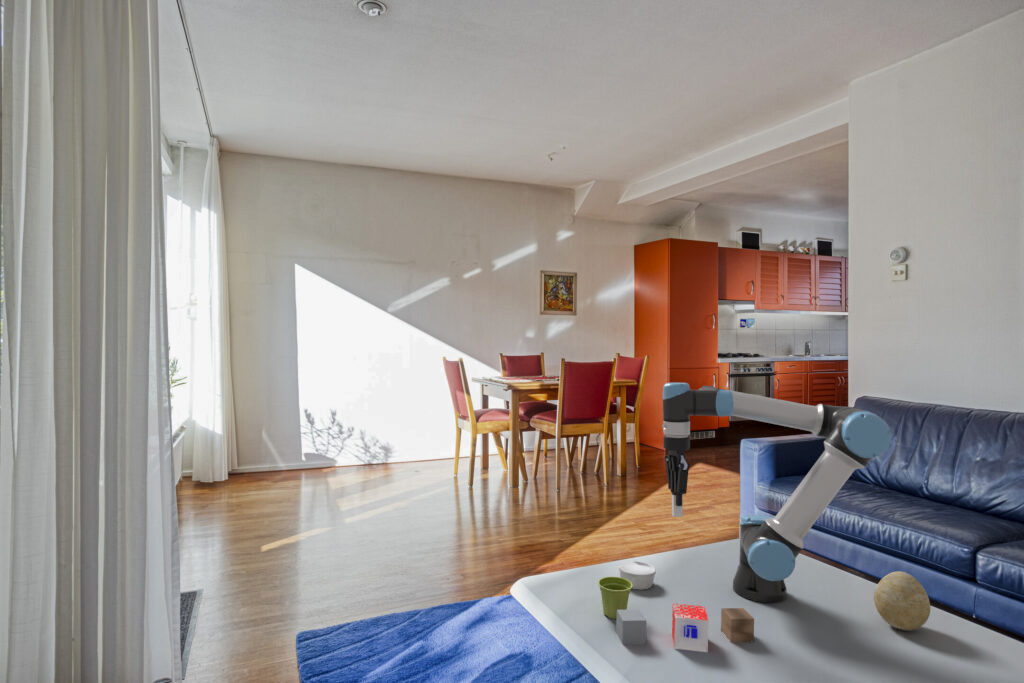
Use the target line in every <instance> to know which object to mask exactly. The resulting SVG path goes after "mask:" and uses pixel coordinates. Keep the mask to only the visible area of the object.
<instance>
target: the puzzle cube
mask: <svg viewBox="0 0 1024 683" xmlns="http://www.w3.org/2000/svg"><path fill="white" fill-rule="evenodd" d="M671 615H672V616H671V617H672V619H671V620H672V622H671V626H672V627H671V635H672V641H673V642H672V643H673V647H674V650H675V649H676V650H684V651H685V650H686V651H693V652H701V653H702V652H703V653H708V652H709V623H710V622H709V617H708V614H707V611H706V608H705V606H701V605H694V604H693V605H692V604H684V603H683V604H682V603H672V614H671Z"/></svg>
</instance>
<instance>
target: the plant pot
mask: <svg viewBox="0 0 1024 683" xmlns="http://www.w3.org/2000/svg"><path fill="white" fill-rule="evenodd" d="M597 584H598V586H599V590H600V594H601V602H602V603H601V604H602V611H603V615H604V616H607V618H609V619H613V620H617V610H628V603H629V598H630V594H631V591H632V590H633V589H632V587H633V584H632V583H631V582H630V581H629V580H627V579H624V578H621V577H620V576H604V577H601V578H599V580H598V581H597Z"/></svg>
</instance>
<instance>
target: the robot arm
mask: <svg viewBox="0 0 1024 683" xmlns="http://www.w3.org/2000/svg"><path fill="white" fill-rule="evenodd" d="M662 387H663V388H662V416H663V417H662V418H663V420H662V422H663V424H662V425H661V428H663V429H662V430H663V433H662V434H664V436H663V437H662V438H663V443H662V444H663V448H664V449H665V450H667V455H664V461H665V467H666V468H665V469H666V479H667V487H668V488H667V489H668V490H670V493H671V517H673V518H680V517H681V518H682V517H683V516H684V513H683V512H684V511H683V510H684V504H683V503H684V502H683V500H684V498H683V496H684V495H687V490H688V482H689V481H688V478H689V471H690V467H691V463H690V462H687V457H686V451H689V450H690V448H691V438H690V434H691V420H690V416H693V417H695V416H701V417H702V416H703V417H705V416H706V417H719V418H721V417H730V416H733V417H738V418H741V419H742V418H743V419H748V420H753V421H758V422H762V423H768V424H773V425H778V426H783V427H788V428H793V429H796V430H797V429H799V430H801V431H803V430H804V431H807V432H811V433H812V434H813V436H815V437H821V438H824V441H823V446H824V450H823V452H822V453H821V455H820V456H819V457H818V459H817V460H816V462H814V464H813V466H812V467H811V468H810V470H809V471H808V472H807V474H806V475H805V477H803V479H802V480H801V482H800V483H799V484H798V485H797V487H796V488H795V490H794V491H793V492H792V494H791V495H790V496H789V498H788V499H787V500H786V502H785V503H784V504H783V505H782V507H781V508H780V510H779V511H778V513H777V514H776V515H775V516H767V515H759V514H758V515H757V514H745V515H742V516H741V518H740V524H739V526H740V529H739V531H740V533H739V564H738V567H737V568H736V572H735V574H734V577H733V581H732V589H733V592H735V594H737V595H739V596H740V597H742V598H744V599H747V598H748V600H750V599H751V601H754V600H755V601H754V602H759V601H760V603H766V602H768V603H767V604H771V602H772V603H773V604H774V603H775V602H776V603H780V601H781V602H783V600H784V601H785V600H786V599H787V596H788V595H787V592H788V591H787V586H786V582H785V580H786V579H787V578H789V577H790V576H791V575H792V574H793V572H794V570H795V569H796V558H797V557H798V556H799V555H800V553H801V552H802V550H803V549H804V548H805V546H804V542H803V539H804V537H805V536H806V534H808V532H809V531H810V529H811V528H812V527H813V525H814V524H815V523H816V522H817V520H818V519H819V518H820V516H821V515H822V514H823V513H824V511H825V510H826V508H827V507H829V504H830V503H831V502H832V501H833V500H834V498H835V496H837V494H838V492H840V490H841V489H842V487H843V486H844V485H845V483H846V482H847V481H848V480H849V478H850V477H851V476H852V474H853V473H854V472H855V471H856V470H857V469H865V468H866V467H867V465H869V462H871V460H872V459H873V458H876V457H879V456H881V455H883V454H884V453H885V452H886V451H887V450H888V448H889V447H890V445H891V440H892V433H891V429H890V427H889V425H888V424H887V422H886V421H885V420H884V419H883V418H881V417H880V416H878V415H877V414H876V413H873V412H871V411H869V410H863V409H861V408H858V407H855V406H853V407H852V406H843V405H842V406H841V405H840V406H838V405H831V404H823V403H819V404H817V405H812V404H811V405H810V404H804V403H800V402H795V401H794V402H793V401H789V400H783V399H778V398H773V397H767V396H762V395H758V394H757V395H756V394H751V393H745V392H740V391H735V390H731V389H724V388H719V387H715V386H713V385H703V386H701V387H700V388H698V389H691V387H690V384H689V383H688V382H666V383H665V384H664V385H663V386H662Z"/></svg>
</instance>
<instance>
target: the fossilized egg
mask: <svg viewBox="0 0 1024 683" xmlns="http://www.w3.org/2000/svg"><path fill="white" fill-rule="evenodd" d="M873 601H874V606H875V608H876V611H877V613H878V614H879V615H880V617H881V619H882V620H884V621H885V622H886V623H887V624H889V625H890V626H891V627H893V628H895V629H897V628H898V629H897V630H900V629H902V630H901V631H914V630H917V629H919V628H921V627H922V626H924V625H925V624H927V623H926V622H928V619H929V617H930V614H931V603H930V599H929V595H928V593H927V592H926V589H925V588H924V587H923V585H922V584H921V583H920V582H919V580H918V579H917V578H916V577H914V576H912V575H911V574H909V572H908V573H907V572H904V571H901V570H900V571H899V570H898V571H893V572H889V573H888V574H886V575H885V576H884V577H882V578H881V579H880V581H879V582H878V583H877V585H876V587H875V590H874V594H873Z"/></svg>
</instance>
